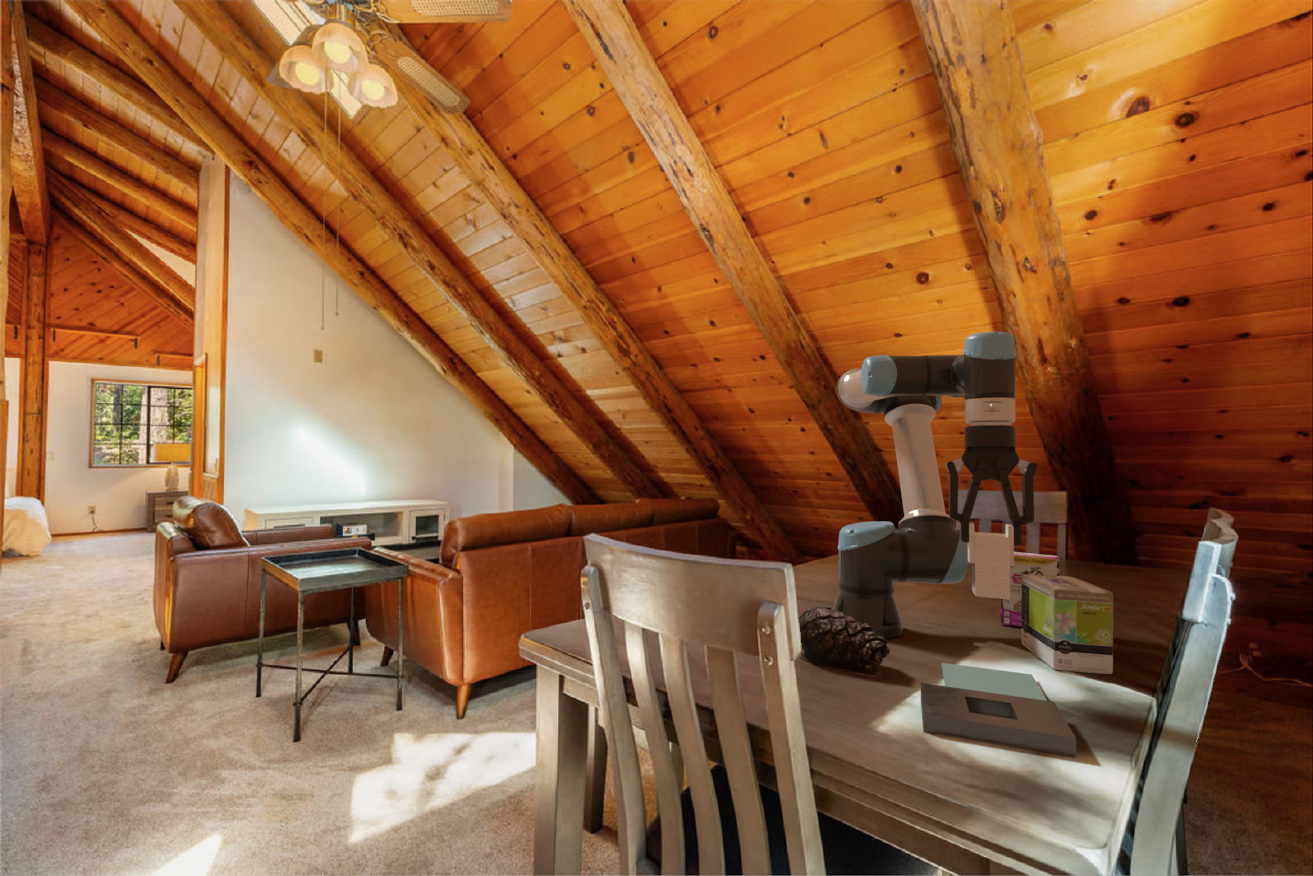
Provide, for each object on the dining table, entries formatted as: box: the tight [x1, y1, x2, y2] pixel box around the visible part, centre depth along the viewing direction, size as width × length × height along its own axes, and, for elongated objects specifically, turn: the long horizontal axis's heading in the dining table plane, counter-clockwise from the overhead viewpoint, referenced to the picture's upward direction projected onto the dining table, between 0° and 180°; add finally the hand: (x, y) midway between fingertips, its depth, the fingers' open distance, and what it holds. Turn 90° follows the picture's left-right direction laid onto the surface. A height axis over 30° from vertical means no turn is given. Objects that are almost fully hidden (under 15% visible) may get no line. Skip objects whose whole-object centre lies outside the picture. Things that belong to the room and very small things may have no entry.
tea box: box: [1020, 574, 1114, 675], centre depth 114 cm, size 15×10×15 cm, turn 168°
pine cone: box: [798, 605, 891, 678], centre depth 111 cm, size 10×18×10 cm, turn 55°
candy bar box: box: [1000, 551, 1060, 628], centre depth 134 cm, size 11×5×16 cm, turn 58°
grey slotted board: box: [920, 682, 1077, 758], centre depth 86 cm, size 18×12×2 cm, turn 68°
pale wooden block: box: [971, 531, 1010, 600], centre depth 100 cm, size 5×5×10 cm
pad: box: [941, 662, 1048, 701], centre depth 100 cm, size 14×12×1 cm
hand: (990, 562), depth 100 cm, fingers closed on pale wooden block, 5 cm apart
